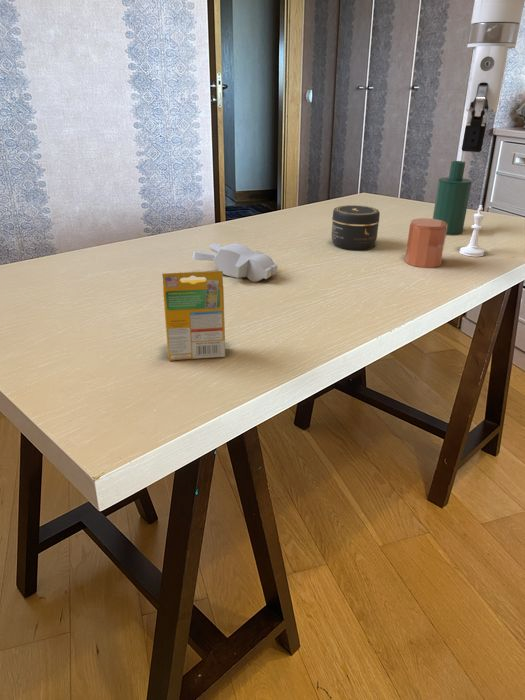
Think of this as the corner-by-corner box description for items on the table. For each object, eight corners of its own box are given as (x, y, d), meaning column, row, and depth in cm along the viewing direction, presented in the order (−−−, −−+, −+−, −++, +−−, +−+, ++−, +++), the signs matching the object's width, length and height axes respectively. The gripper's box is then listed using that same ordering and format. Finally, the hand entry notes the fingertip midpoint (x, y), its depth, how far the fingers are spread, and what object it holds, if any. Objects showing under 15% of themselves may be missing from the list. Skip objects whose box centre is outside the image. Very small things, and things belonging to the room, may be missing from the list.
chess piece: (487, 253, 112) (497, 205, 107) (478, 258, 108) (488, 208, 104) (465, 248, 115) (474, 201, 110) (455, 253, 111) (464, 205, 107)
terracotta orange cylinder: (442, 260, 107) (449, 220, 103) (438, 269, 101) (445, 228, 98) (408, 255, 110) (414, 216, 106) (402, 264, 104) (408, 224, 100)
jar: (346, 253, 110) (349, 216, 107) (322, 241, 118) (324, 206, 115) (385, 248, 114) (389, 212, 111) (359, 237, 122) (362, 203, 119)
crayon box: (223, 347, 71) (221, 263, 65) (225, 357, 68) (224, 271, 63) (168, 350, 70) (161, 265, 64) (168, 361, 67) (161, 273, 62)
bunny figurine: (260, 266, 89) (188, 243, 94) (257, 294, 91) (186, 269, 97) (286, 252, 96) (217, 231, 102) (282, 278, 99) (215, 256, 104)
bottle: (463, 229, 130) (476, 161, 122) (460, 236, 124) (473, 164, 116) (433, 226, 132) (444, 158, 125) (428, 233, 126) (440, 162, 119)
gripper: (519, 33, 79) (494, 155, 86) (515, 41, 93) (494, 145, 101) (466, 33, 81) (446, 152, 89) (470, 41, 95) (453, 143, 103)
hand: (472, 148), depth 95 cm, fingers open, 9 cm apart
